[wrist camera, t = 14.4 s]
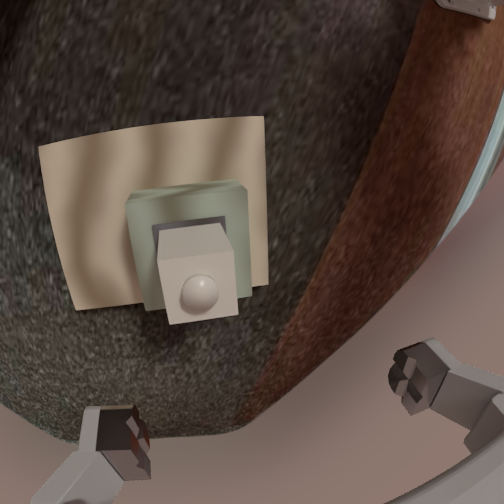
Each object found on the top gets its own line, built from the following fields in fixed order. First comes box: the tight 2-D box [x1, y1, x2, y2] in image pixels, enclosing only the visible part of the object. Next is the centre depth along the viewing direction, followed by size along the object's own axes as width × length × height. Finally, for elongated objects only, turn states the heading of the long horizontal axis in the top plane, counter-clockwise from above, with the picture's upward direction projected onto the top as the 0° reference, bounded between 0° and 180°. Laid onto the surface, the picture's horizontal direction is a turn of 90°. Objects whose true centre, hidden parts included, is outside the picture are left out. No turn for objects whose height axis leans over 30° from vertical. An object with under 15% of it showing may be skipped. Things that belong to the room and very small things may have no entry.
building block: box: [157, 223, 238, 325], centre depth 24 cm, size 5×5×7 cm
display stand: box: [39, 116, 268, 311], centre depth 28 cm, size 22×18×7 cm
